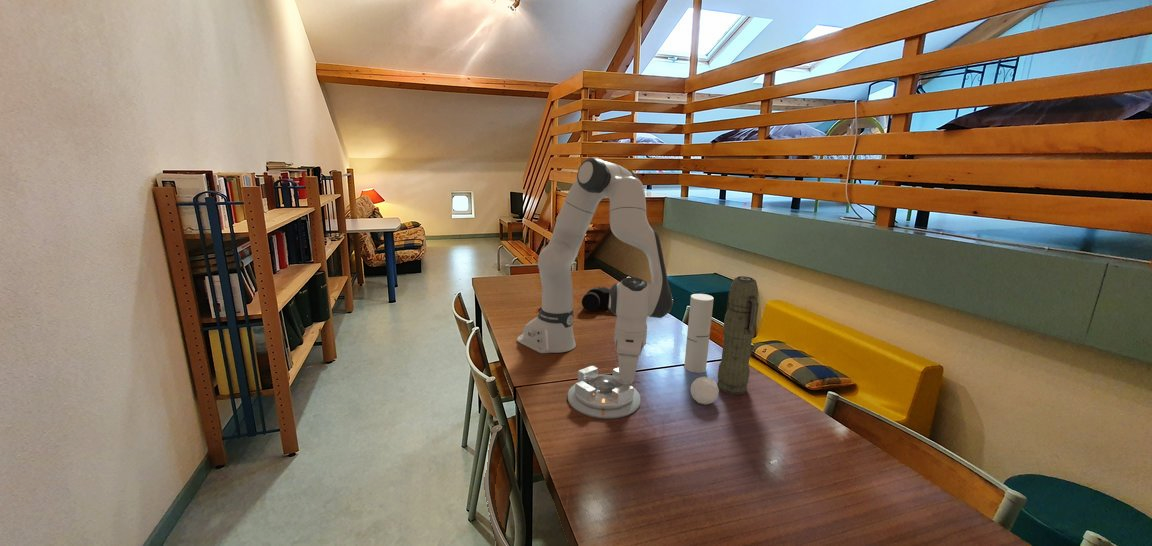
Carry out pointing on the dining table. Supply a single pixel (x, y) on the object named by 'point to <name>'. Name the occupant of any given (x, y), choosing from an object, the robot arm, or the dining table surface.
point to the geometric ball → (704, 390)
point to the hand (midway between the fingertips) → (626, 381)
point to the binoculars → (596, 299)
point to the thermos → (738, 335)
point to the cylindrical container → (698, 332)
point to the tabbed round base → (602, 390)
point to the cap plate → (603, 413)
